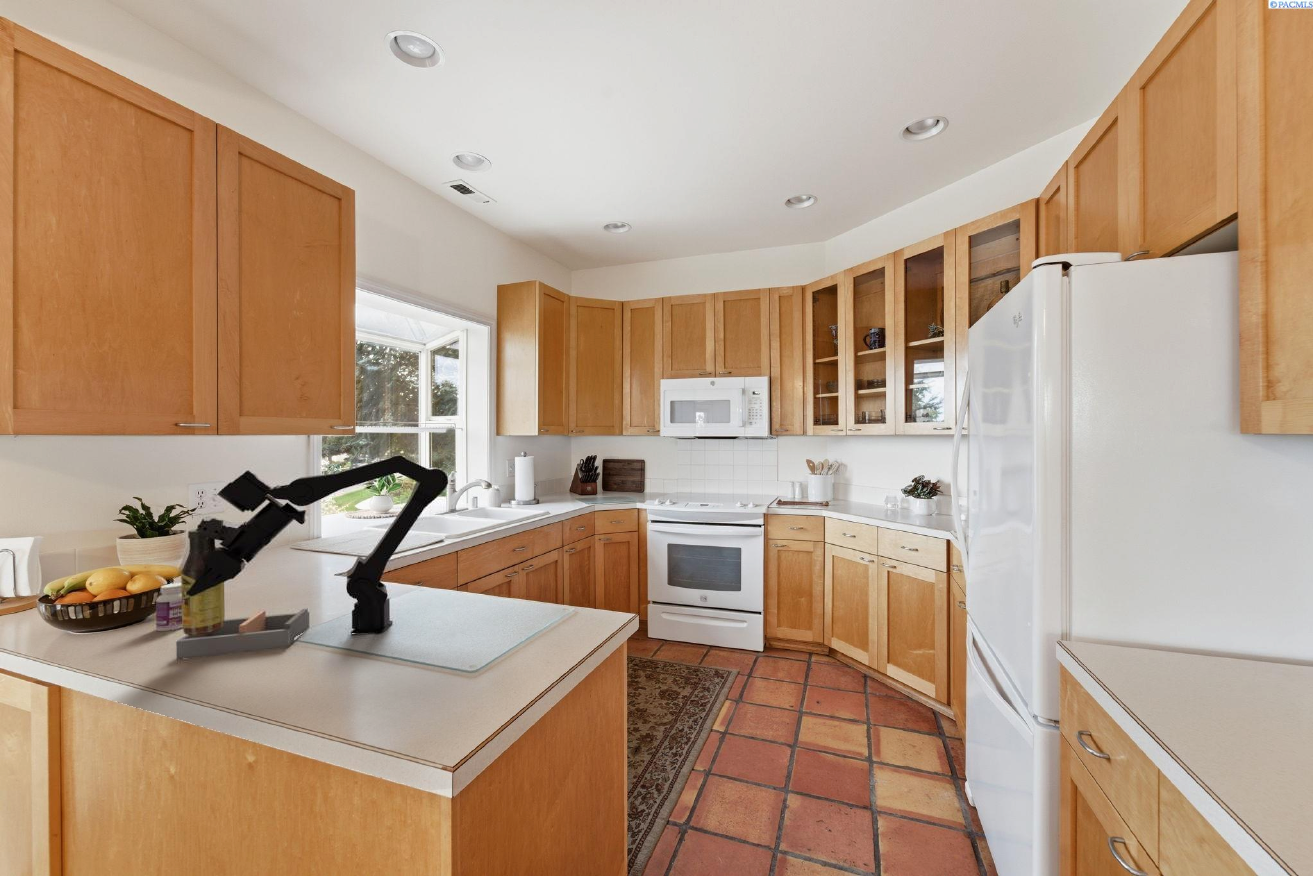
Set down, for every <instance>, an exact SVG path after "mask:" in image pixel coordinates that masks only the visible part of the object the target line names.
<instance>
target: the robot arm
mask: <svg viewBox="0 0 1313 876" xmlns="http://www.w3.org/2000/svg"><path fill="white" fill-rule="evenodd" d="M394 474H399V475H401V476H404V477H406V478H408V479H410V480H413V481H415V484H414V486H413V489H412V492H411V493H410V497H409V499H408V500H407V502H406V503H405V505H404V506H403V507H402V508H401V510H400V512H399V513H398V515H397V516H396V517H395V518H394V520H393V522H392V523H391V525H390V526H388V529H387V530H385V533H384V534H383V536H382V537H381V539H380V540H379V541H378V542H377V544H376V545H375V547H374V549H373V550H372V551H371V552H370V553H369V554H368V555H367V556H366V557H365V558H364V557H362V556H360V555H358V556H357V557H356V560H355V562H354V563H353V565H352V567H351V568H349V569H348V570H347V571H346V584H345V585H346V587H345V588H346V593H347V595H348V596H349V597H351V599H355V600H356V602H354V603H353V608H354V609H352V611H351V629H352V630H351V631H350V634H351V633H368V634H380V633H381V632H382V633H384V632H385V631H386V629H388V628H389V627H390V626H391V625H392V624H394V623H393V620H391V617H390V613H391V610H390V607H391V606H390V599H391V598H390V597H389V596H388V590H387V586H386V585H385V584H384V583H383V582H382V581H381V579H382V577H383V575H384V571H385V569H386V566H387V564H388V562H389V560H390V559H391V558H392V556H393V554H395V552H396V551H397V549H398V547H399V546H400V544H401V543H402V542H403V540H404V539H405V537H406V536H407V534H408V533H409V532H410V530H411V529H412V527H413V526H414V525H415V523H416V521H417V520H418V519H419V517H420V516H421V515H422V513H423V511H424V510H425V509H426V507H427V506H429V505H430V504H431V503H432V502H434V501H435V500H436V499H437V498H438V497H439V496H440V494H442V493H443V492H444V491H445V490H446V488H447V486H448V484H449V477H448V475H447V473H446V472H445V471H444V470H442V469H440V468H437V467H428V468H426V467H425V466H422V465H420V464H418V463H416V462H413V461H412V460H409V459H408V458H406V457H405V456H403V455H400V454H395V455H391V457H387V458H384V459H381V460H377V461H373V462H370V463H368V464H367V463H366V464H363V465H359V466H356V467H353V468H349V469H345V470H342V471H339V472H334V473H326V474H325V473H324V474H317V475H309V476H302V477H298V478H296V479H294V480H292V481H291V482H290V483H289V484H284V485H279V484H278V485H276V486H273V487H272V486H270V485H269V484H268V483H266V482H265V481H264V480H263V479H261V478H259V477H258V476H257V474H256V473H254V472H253V471H252V470H246V471H245V472H244V473H242V474H241V475H239V476H238V477H237V478H235V479H234V480H232V481H230V482H229V483H228V484H227V485H225V486H224V487H223V488H222V489H221V490H220V491H218V492H217V494H216V495H217V496H219V497H220V498H221V499H223V500H224V501H226V502H227V503H229V504H230V505H232V506H233V507H234V508H236V509H237V510H238V511H240V512H241V513H245V512H246V511H247V512H249V511H250V512H251V513H253V512H254V511H256V510H257V509H259V508H260V507H261V506H262V505H263V504H264V503H265V502H266V501H268V503H267V504H265V506H264V507H262V508H261V509H260V510H259V511H258V512H257V513H256V514H254V515H253V516H252V517H251V518H250V519H249V520H248V521H245V522H243V523H241V524H240V525H239V524H236V523H233V522H231V521H230V522H229V521H227V520H224V519H219V518H217V517H213V516H206V517H203V518H202V519H201V521H200V522H199V524H198V525H197V528H196V529H197V530H196V531H199V532H201V536H205V537H208V538H212V539H215V541H216V540H217V541H221V542H220V543H219V545H220V546H218V547H216V548H214V549H212V550H211V551H210V552H209V553H207V554H206V555H205V556H204V557H203V558H202V561H203V563H204V570H203V572H202V573H201V574H200V576H199V577H198V578H197V580H196V581H195V582H194V584H193V585H192V586H191V588H190V589H189V590H188V592H187V594H188V595H189V596H194V595H196V594H199V593H201V592H203V591H205V590H207V589H209V588H212V587H214V586H216V585H218V584H220V583H223V582H224V583H225V582H227V581H229V580H233V579H235V577H237V576H238V575H239V574H240V573H241V572H242V571H243V570H244V569H245V566H246V564H249V563H250V562H251V561H252V560H253V559H254V558H256V556H257V555H258V554H259V553H260V552H261V551H262V550H263V549H264V548H265V547H266V546H268V545H269V544H270V543H271V542H272V540H274V539H276V537H277V536H278V535H279V534H280V533H282V531H283V530H285V529H286V528H287V527H288V526H289V525H290V524H291V523H292V522H294V521H295V522H297V523H298V524H300V525H305V522H306V513H307V510H306V509H303V510H298V509H297V508H296V507H294V506H298V507H305V506H306V507H307V506H310V505H311V504H313V503H316V502H318V501H320V500H323V499H324V498H327V497H328V496H330V495H332V494H334V493H337V492H339V491H340V490H343V489H347V488H350V487H353V486H357V485H361V484H364V483H367V482H370V481H374V480H377V479H380V478H384V477H387V476H390V475H394ZM278 500H283V501H288V502H286V503H285V504H283V503H281V502H280V501H278ZM289 502H290V503H289ZM293 505H294V506H293ZM245 562H246V563H245Z"/></svg>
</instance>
